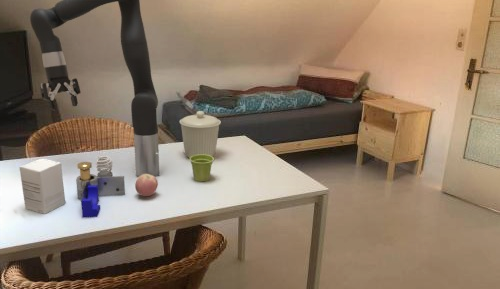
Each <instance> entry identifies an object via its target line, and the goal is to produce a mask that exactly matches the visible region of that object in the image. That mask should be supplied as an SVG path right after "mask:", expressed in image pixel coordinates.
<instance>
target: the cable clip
mask: <svg viewBox="0 0 500 289" xmlns="http://www.w3.org/2000/svg"><path fill="white" fill-rule="evenodd" d="M99 198H100V196H99V195H98V185H89V186H88V199H82V200H80V202H81V203H80V205H81V214H82V215H81V216H82V219H83V218H98V216H99V213H100V211H101V204H99V202H100V199H99Z"/></svg>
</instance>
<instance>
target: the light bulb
mask: <svg viewBox="0 0 500 289" xmlns="http://www.w3.org/2000/svg"><path fill="white" fill-rule="evenodd" d="M112 160H113V159H112V157H110V156H108V155H100V156H98V159H96V161H95V162H96V163H95V165H96V166H95V167H96V171H97V172H98V173H97V174H96V175H97V176H98V177H110V176H113V172H112V170H113V161H112Z"/></svg>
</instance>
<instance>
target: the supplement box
mask: <svg viewBox="0 0 500 289" xmlns="http://www.w3.org/2000/svg"><path fill="white" fill-rule="evenodd" d="M19 172H20V173H19V174H20V181H21V187H22V188H21V189H22V194H23V202H24V209H26V210H29V211H33V212H37V213H40V214H44V215H46V214H48V213H50V212H51V211H53V210H55V209H57V208H59V207H61V206H63V205H65V204H66V195H65V186H64V178H63V170H62V163H61V162H59V161H54V160H49V159H46V158H39V159H37V160H34V161H31V162H28V163H26V164H23V165H20V166H19Z"/></svg>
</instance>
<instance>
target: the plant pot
mask: <svg viewBox="0 0 500 289" xmlns="http://www.w3.org/2000/svg"><path fill="white" fill-rule="evenodd" d="M214 160H215V159H214V156H213V157H212V156H210V155H204V154H199V155H194V156H191V157H190V158H189V161H190V164H191V168H192V175H193V180H194V181H196V182H199V183H201V182H208V181H209V180H210V176H211V170H212V164H213V162H214Z"/></svg>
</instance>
